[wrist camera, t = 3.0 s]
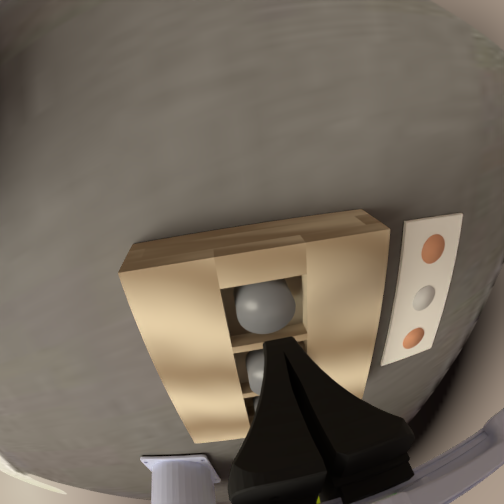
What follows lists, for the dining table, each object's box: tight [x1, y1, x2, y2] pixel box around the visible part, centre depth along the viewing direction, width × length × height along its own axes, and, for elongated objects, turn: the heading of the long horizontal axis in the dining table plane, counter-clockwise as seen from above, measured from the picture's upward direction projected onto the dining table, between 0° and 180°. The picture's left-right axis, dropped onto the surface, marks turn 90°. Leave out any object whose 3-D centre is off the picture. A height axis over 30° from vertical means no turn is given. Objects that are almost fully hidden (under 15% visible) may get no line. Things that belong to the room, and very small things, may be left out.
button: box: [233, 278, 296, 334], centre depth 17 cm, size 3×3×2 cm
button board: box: [118, 209, 390, 443], centre depth 19 cm, size 16×14×4 cm
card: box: [380, 213, 463, 366], centre depth 22 cm, size 14×6×1 cm, turn 6°
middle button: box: [245, 349, 264, 395], centre depth 18 cm, size 3×3×2 cm
